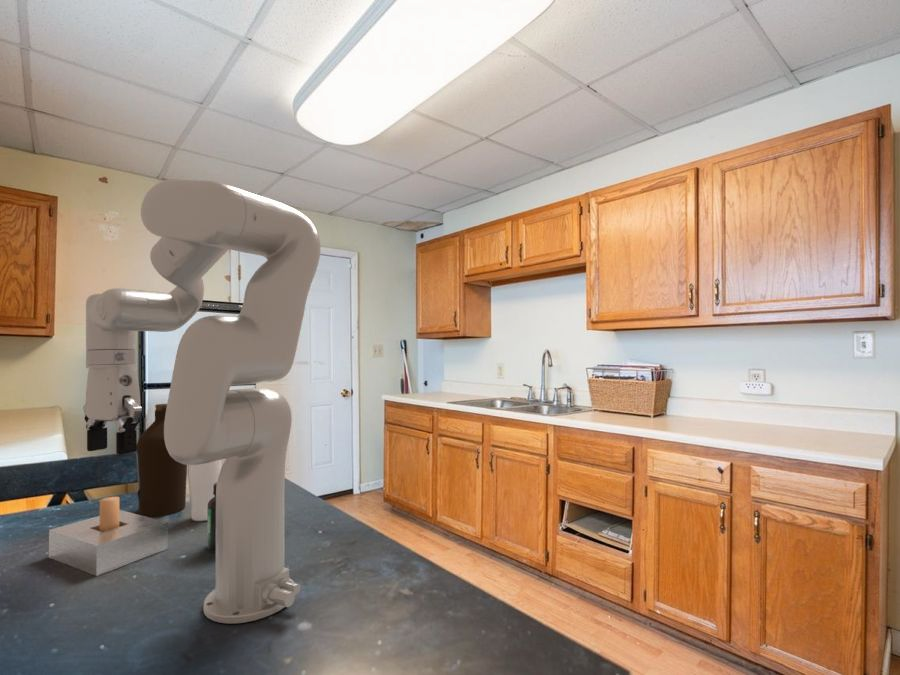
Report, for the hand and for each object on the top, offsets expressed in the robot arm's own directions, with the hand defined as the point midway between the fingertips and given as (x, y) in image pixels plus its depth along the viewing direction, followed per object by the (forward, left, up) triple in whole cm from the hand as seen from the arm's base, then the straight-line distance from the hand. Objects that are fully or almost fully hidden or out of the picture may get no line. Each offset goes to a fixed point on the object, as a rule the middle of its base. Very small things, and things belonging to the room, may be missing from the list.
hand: (111, 451), depth 88 cm
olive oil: (+15, -19, -19) cm, 31 cm away
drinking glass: (+2, -20, -19) cm, 28 cm away
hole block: (0, 0, -19) cm, 19 cm away
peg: (0, 0, -19) cm, 19 cm away
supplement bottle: (-17, -12, -19) cm, 28 cm away
